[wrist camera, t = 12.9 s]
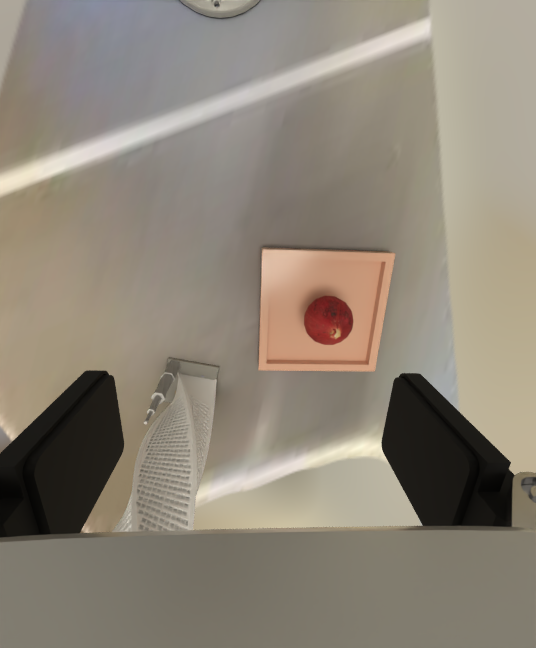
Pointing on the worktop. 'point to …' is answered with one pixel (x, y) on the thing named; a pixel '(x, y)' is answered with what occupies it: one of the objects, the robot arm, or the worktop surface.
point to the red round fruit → (328, 320)
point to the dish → (314, 282)
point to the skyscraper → (173, 450)
